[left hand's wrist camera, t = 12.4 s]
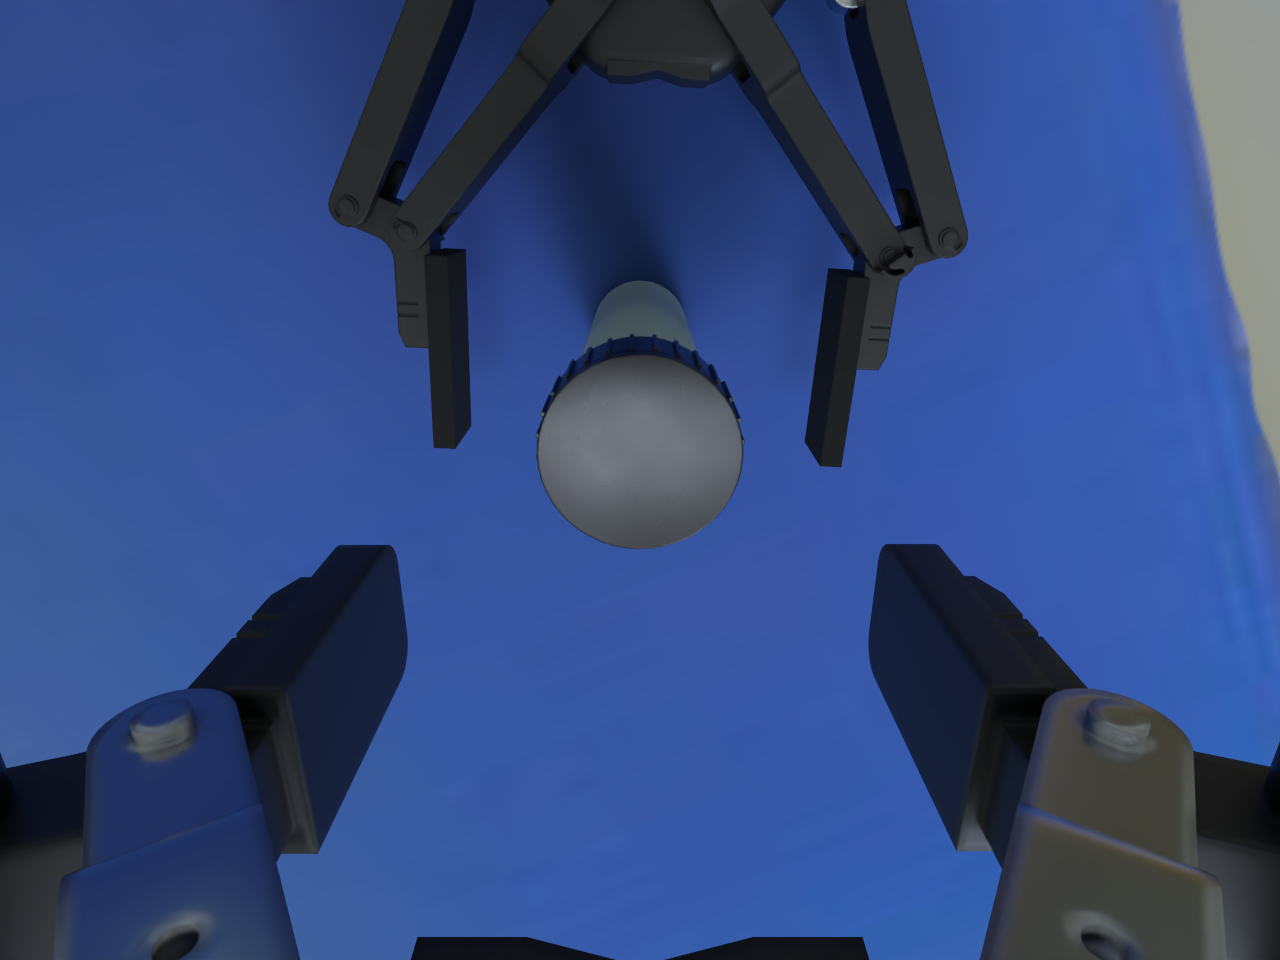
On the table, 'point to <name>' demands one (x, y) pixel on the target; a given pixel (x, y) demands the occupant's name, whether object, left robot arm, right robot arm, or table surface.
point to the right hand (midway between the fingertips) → (638, 446)
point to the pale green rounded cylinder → (639, 315)
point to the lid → (640, 443)
